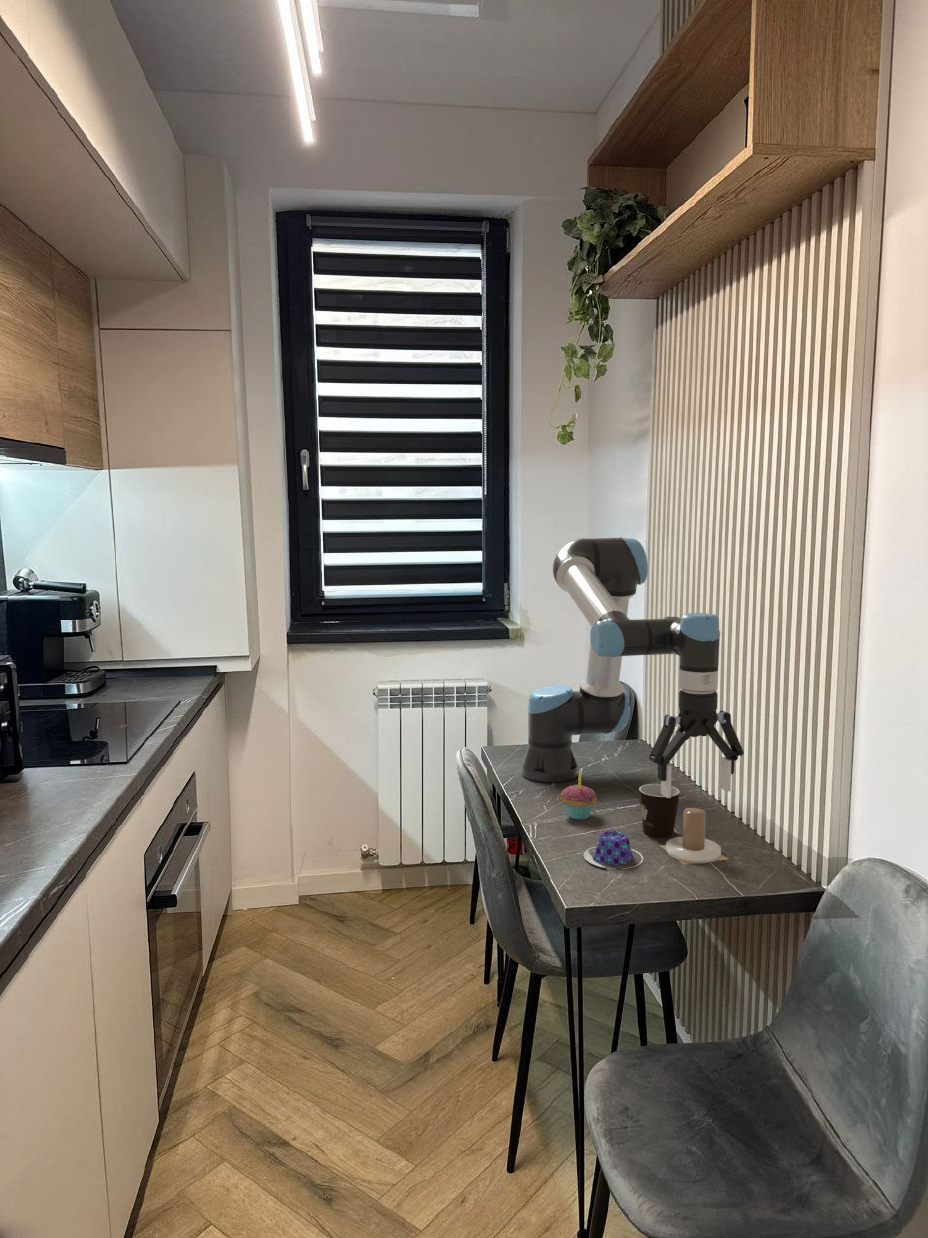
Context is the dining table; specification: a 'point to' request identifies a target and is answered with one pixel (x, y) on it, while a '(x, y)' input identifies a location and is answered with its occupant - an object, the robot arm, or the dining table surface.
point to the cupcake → (578, 800)
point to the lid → (693, 840)
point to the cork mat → (693, 863)
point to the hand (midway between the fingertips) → (695, 792)
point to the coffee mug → (658, 811)
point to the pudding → (611, 850)
